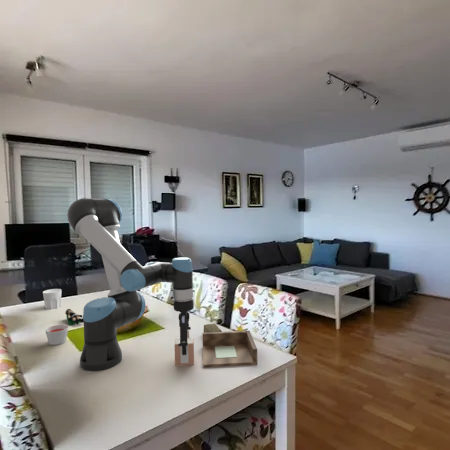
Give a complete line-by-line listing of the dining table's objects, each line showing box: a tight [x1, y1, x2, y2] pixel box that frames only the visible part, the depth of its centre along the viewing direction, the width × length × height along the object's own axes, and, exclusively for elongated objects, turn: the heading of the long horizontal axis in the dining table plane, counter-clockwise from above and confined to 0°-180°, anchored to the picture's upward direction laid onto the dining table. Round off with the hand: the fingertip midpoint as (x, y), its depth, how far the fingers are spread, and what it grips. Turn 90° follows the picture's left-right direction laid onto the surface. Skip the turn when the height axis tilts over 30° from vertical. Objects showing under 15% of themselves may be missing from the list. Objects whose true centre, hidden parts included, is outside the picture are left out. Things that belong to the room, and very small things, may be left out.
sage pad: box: [215, 346, 237, 358], centre depth 130 cm, size 8×10×1 cm
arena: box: [202, 330, 258, 368], centre depth 130 cm, size 20×18×6 cm
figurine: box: [64, 308, 84, 327], centre depth 170 cm, size 8×6×15 cm
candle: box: [44, 324, 69, 346], centre depth 145 cm, size 9×9×6 cm
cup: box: [42, 288, 62, 310], centre depth 196 cm, size 10×10×10 cm
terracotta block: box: [174, 337, 195, 367], centre depth 124 cm, size 7×5×8 cm
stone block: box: [203, 323, 223, 333], centre depth 147 cm, size 6×12×5 cm, turn 20°
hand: (185, 354), depth 124 cm, fingers open, 13 cm apart
